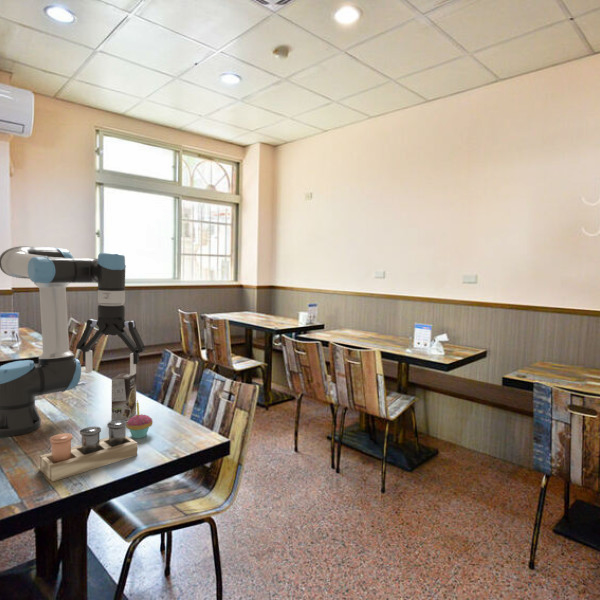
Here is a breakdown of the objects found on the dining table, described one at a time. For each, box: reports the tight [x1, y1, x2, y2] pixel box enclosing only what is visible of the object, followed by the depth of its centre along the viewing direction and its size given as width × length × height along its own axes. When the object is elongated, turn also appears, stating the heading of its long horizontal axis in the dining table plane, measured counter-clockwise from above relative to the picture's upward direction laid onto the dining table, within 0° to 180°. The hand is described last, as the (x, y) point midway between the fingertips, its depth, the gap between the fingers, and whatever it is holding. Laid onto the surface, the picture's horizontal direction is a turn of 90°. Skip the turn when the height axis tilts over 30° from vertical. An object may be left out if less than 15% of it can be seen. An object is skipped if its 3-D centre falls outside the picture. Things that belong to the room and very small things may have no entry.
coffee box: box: [111, 372, 137, 421], centre depth 166 cm, size 9×6×16 cm
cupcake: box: [126, 399, 154, 439], centre depth 148 cm, size 9×8×12 cm
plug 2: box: [107, 420, 128, 447], centre depth 133 cm, size 6×6×7 cm
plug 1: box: [79, 426, 102, 455], centre depth 127 cm, size 6×6×7 cm
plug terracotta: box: [49, 432, 74, 463], centre depth 121 cm, size 6×6×7 cm
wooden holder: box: [39, 435, 138, 483], centre depth 127 cm, size 10×24×4 cm, turn 138°
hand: (111, 373), depth 131 cm, fingers open, 13 cm apart
